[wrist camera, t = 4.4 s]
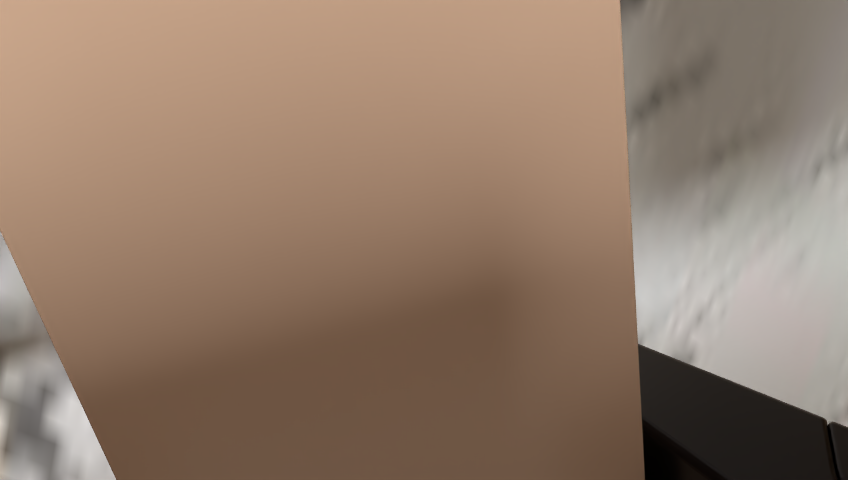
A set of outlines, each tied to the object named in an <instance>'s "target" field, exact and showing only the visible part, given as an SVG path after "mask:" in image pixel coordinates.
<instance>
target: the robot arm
mask: <svg viewBox="0 0 848 480" xmlns="http://www.w3.org/2000/svg"><path fill="white" fill-rule="evenodd" d="M638 357H639V376H640V395H641V414H642V433H643V452H644V471H645V480H848V427H846V426H843V425H841V424H838V423H836V422H830V423H829V424H828V425H827V421H826V419H825V418H823V417H820V416H818V415H815V414H813V413H810V412H808V411H805V410H803V409H800V408H798V407H795V406H793V405H790V404H788V403H785V402H783V401H780V400H778V399H775V398H772V397H770V396H767V395H765V394H762V393H760V392H757V391H755V390H752V389H750V388H747V387H745V386H742V385H740V384H737V383H735V382H732V381H730V380H727V379H725V378H722V377H720V376H717V375H715V374H712V373H710V372H707V371H705V370H702V369H700V368H697V367H695V366H692V365H690V364H687V363H685V362H682V361H680V360H677V359H675V358H672V357H670V356H667V355H665V354H662V353H660V352H657V351H655V350H652V349H650V348H647V347H645V346H642V345H640V344H638Z"/></svg>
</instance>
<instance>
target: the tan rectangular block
mask: <svg viewBox="0 0 848 480" xmlns="http://www.w3.org/2000/svg"><path fill="white" fill-rule="evenodd" d="M0 231H1V233H2V235H3V237H4V240H5V242H6V244H7V246H8V248H9V250H10V252H11V255H12V257H13V259H14V261H15V263H16V265H17V267H18V270H19V272H20V274H21V276H22V278H23V280H24V282H25V285H26V287H27V289H28V291H29V293H30V295H31V298H32V300H33V302H34V304H35V306H36V308H37V310H38V313H39V315H40V317H41V319H42V321H43V323H44V325H45V328H46V330H47V332H48V334H49V336H50V338H51V340H52V343H53V345H54V347H55V349H56V351H57V353H58V355H59V358H60V360H61V362H62V364H63V366H64V368H65V370H66V373H67V375H68V377H69V379H70V381H71V383H72V385H73V388H74V390H75V392H76V394H77V396H78V398H79V400H80V403H81V405H82V407H83V409H84V411H85V413H86V415H87V418H88V420H89V422H90V424H91V426H92V428H93V430H94V433H95V435H96V437H97V439H98V441H99V443H100V445H101V448H102V450H103V452H104V454H105V456H106V458H107V460H108V463H109V465H110V467H111V469H112V471H113V473H114V475H115V478H116V480H645V471H644V452H643V433H642V414H641V395H640V376H639V357H638V338H637V318H636V299H635V280H634V261H633V242H632V223H631V204H630V185H629V166H628V147H627V128H626V108H625V89H624V70H623V51H622V32H621V13H620V0H0Z"/></svg>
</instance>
